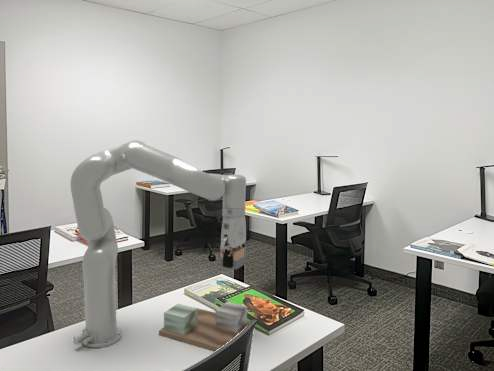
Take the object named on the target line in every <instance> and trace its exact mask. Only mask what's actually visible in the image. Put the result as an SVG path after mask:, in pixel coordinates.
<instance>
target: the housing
mask: <svg viewBox="0 0 494 371" xmlns="http://www.w3.org/2000/svg"><path fill="white" fill-rule="evenodd" d="M227 246H229V245H227ZM227 250H228V251H229V248H227ZM245 252H246V250H245V247H244V246H242V247H236V248H233V249H232V254H231V256H232V268H229V269H231V270H238V269H240V268H241V267H242V266H244V265H245ZM219 255H220V258H219V260H220V261H219V267H221V268H226V269H228V268H227V267H223V255H222V251H221V250H220V254H219Z"/></svg>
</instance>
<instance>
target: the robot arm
mask: <svg viewBox="0 0 494 371" xmlns="http://www.w3.org/2000/svg"><path fill="white" fill-rule="evenodd" d="M131 169H134V170H136V171H138V172H141V173H143V174H147V175H148V176H152V177H153V178H156V179H159V180H161V181H163V182H166V183H167V184H170V185H172V186H174V187H177V188H179V189H182V190H185V191H186V192H189V193H190V194H194V195H196V196H199V197H200V198H204V199H206V200H210V201H217V200H220V199H221V198H222V211H221V212H222V213H221V216H222V223H221V230H220V231H221V232H220V234H221V235H220V246H219V249H220V252H221V251H222V255H223V267H222V268H225V267H227V268H226V269H230V268H232V256H231V254H232V249H233V248H236V247H243V245H244V244H245V243H246V242H247V224H246V222H247V220H246V193H247V192H246V191H247V178H246V177H245V176H244V175H241V174H227V175H226V174H225V175H224V174H218V173H210V172H209V173H208V172H206V171H202V170H200V169H198V168H196V167H194V166H192V165H190V164H188V163H187V162H184V161H183V160H182V159H181V158H179V157H178V156H175V155H172V154H170V153H167V152H165V151H162V150H160V149H157V148H155V147H153V146H151V145H147V144H146V143H145V142H144V141H141V140H137V139H134V140H130V141H128V142H125V143H123V144H121V145H118V146H115V147H111V148H108V149H107V150H103V151H100V152H97V153H94V154H92V155H90V156H88V157H87V158H85V159H84V160H82V161H81V162H80V163H79V164H78V165H77V166H76V167H75V169H74V171H73V172H72V174H71V176H70V177H71V178H70V193H71V198H72V203H73V208H74V213H75V218H76V225H77V230H78V232H79V235H80V236H81V237H82V238H83V239H84V240H86V244H87V249H86V250H85V252H84V254H83V257H82V264H81V265H82V266H81V268H82V276H83V288H84V289H83V291H84V292H83V293H84V316H85V317H84V318H85V319H84V320H85V323H84V324H85V328H83V329H82V333H81V335H79V336H77V337H75V338H74V339H73V344H74V345H78V344H80V343H81V344H82V345H83V346H84V347H88V348H96V349H97V348H104V347H105V348H106V347H109V346H112V345H114V344H116V343H118V342H119V341H120V339H122V336H123V335H122V330H121V329H120V328H118V327H117V291H116V290H117V289H116V288H117V281H116V261H117V260H116V259H117V256H118V252H119V248H118V246H119V245H118V240H117V235H116V229H115V226H114V220H113V216H112V214H111V213H110V211H109V209H107V208H106V207H105V206H104V201H103V195H102V191H101V184H102V183H103V182H104V181H106V180H108V179H110V178H111V177H112V176H114V175H117V174H120V173H123V172H125V171H128V170H131ZM228 245H229V246H228ZM227 248H229V251H228V250H227Z"/></svg>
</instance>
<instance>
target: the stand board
mask: <svg viewBox="0 0 494 371" xmlns="http://www.w3.org/2000/svg"><path fill="white" fill-rule="evenodd" d="M250 322H251V323H252V321H251V320H248V306H247V305H243V304H239V303H234V302H229V301H226V302H224V303H223V304H222V305H221V306H219V307H218V308H216V309H215V312H214V311H210V310H207V309H202V308H198V307H194V306H188V305H184V304H182V303H181V304H180V303H177V304H175V305H173V307H170V308H168V309H167V310H165V311H164V312H163V327H162V328H160V329H159V330H158V335H159V336H161V337H165V338H168V339H172V340H175V341H179V342H182V343H186V344H187V345H191V346H196V347H199V348H202V349H206V350H209V351H213V352H215V351H216V350H217V349H219V348H221V347H222V346H223V345H225V344H226V343H227V342H229V341H230V340H231V339H233V338H234V337H235V336H236V335H237V334H238V333H240V332H241V331H242V330H243V329H244V328H245V327H246V326H247V325H248V324H249V323H250Z"/></svg>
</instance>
